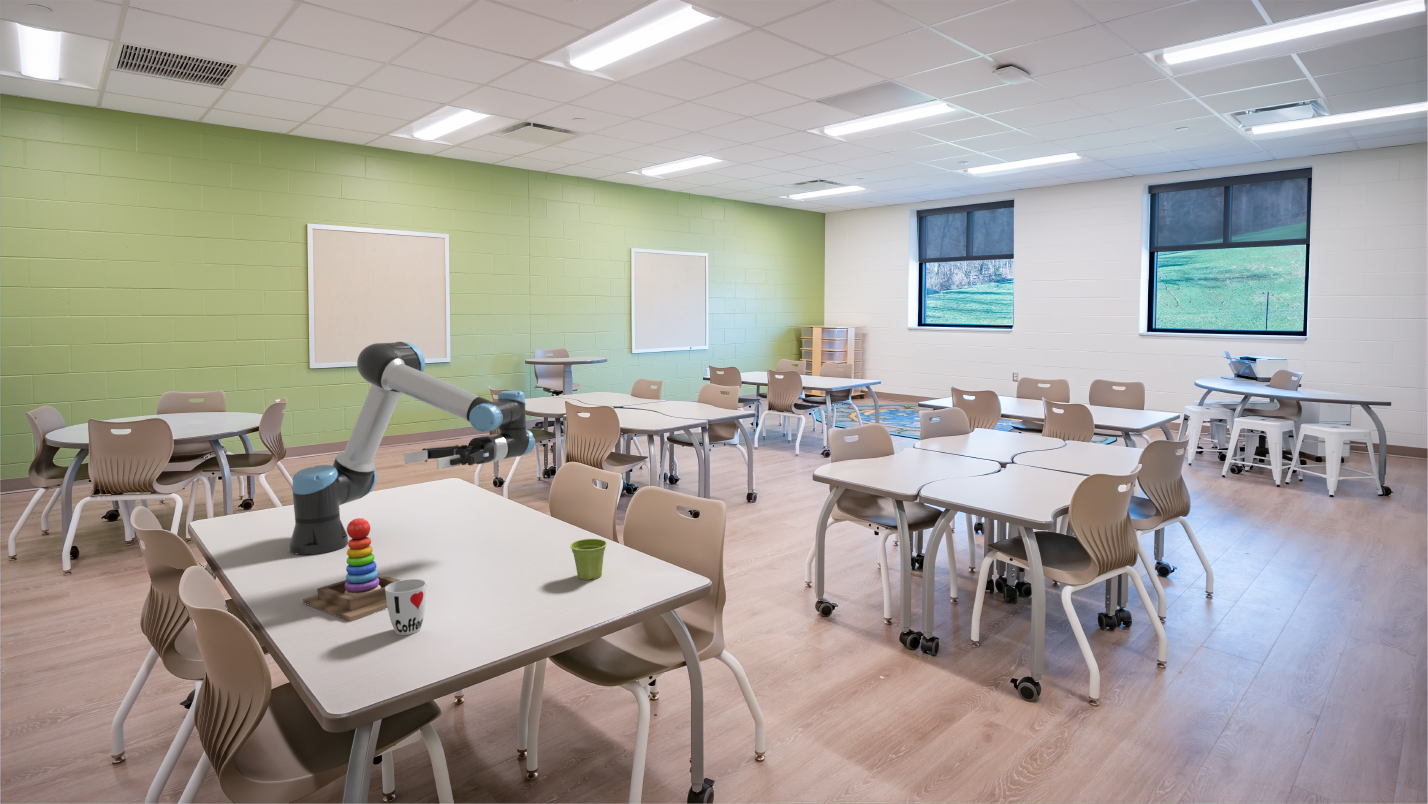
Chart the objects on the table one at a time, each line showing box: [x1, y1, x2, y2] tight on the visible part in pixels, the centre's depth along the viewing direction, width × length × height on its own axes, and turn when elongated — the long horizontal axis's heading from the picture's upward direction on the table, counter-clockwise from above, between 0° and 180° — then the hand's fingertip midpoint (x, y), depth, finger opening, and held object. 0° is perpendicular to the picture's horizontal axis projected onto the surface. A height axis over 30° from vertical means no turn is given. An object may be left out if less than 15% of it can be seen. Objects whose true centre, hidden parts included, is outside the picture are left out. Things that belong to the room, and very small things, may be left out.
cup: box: [385, 578, 427, 636], centre depth 159 cm, size 8×8×10 cm
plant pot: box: [569, 538, 608, 581], centre depth 192 cm, size 9×9×9 cm
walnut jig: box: [302, 573, 402, 622], centre depth 177 cm, size 20×18×4 cm
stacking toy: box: [344, 517, 381, 597], centre depth 176 cm, size 8×8×19 cm
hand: (421, 461), depth 192 cm, fingers open, 13 cm apart
